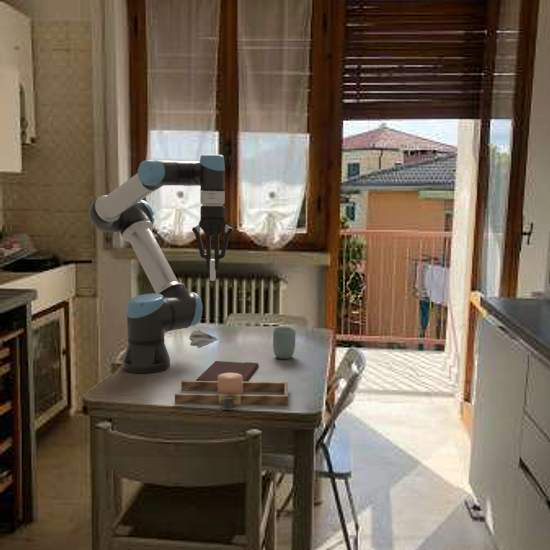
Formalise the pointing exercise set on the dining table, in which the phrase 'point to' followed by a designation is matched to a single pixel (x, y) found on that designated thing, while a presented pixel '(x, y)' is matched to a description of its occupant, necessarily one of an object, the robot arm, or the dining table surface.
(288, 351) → the cup
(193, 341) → the cloth
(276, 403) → the track
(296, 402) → the dining table surface
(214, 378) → the notebook
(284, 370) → the dining table surface
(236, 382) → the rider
